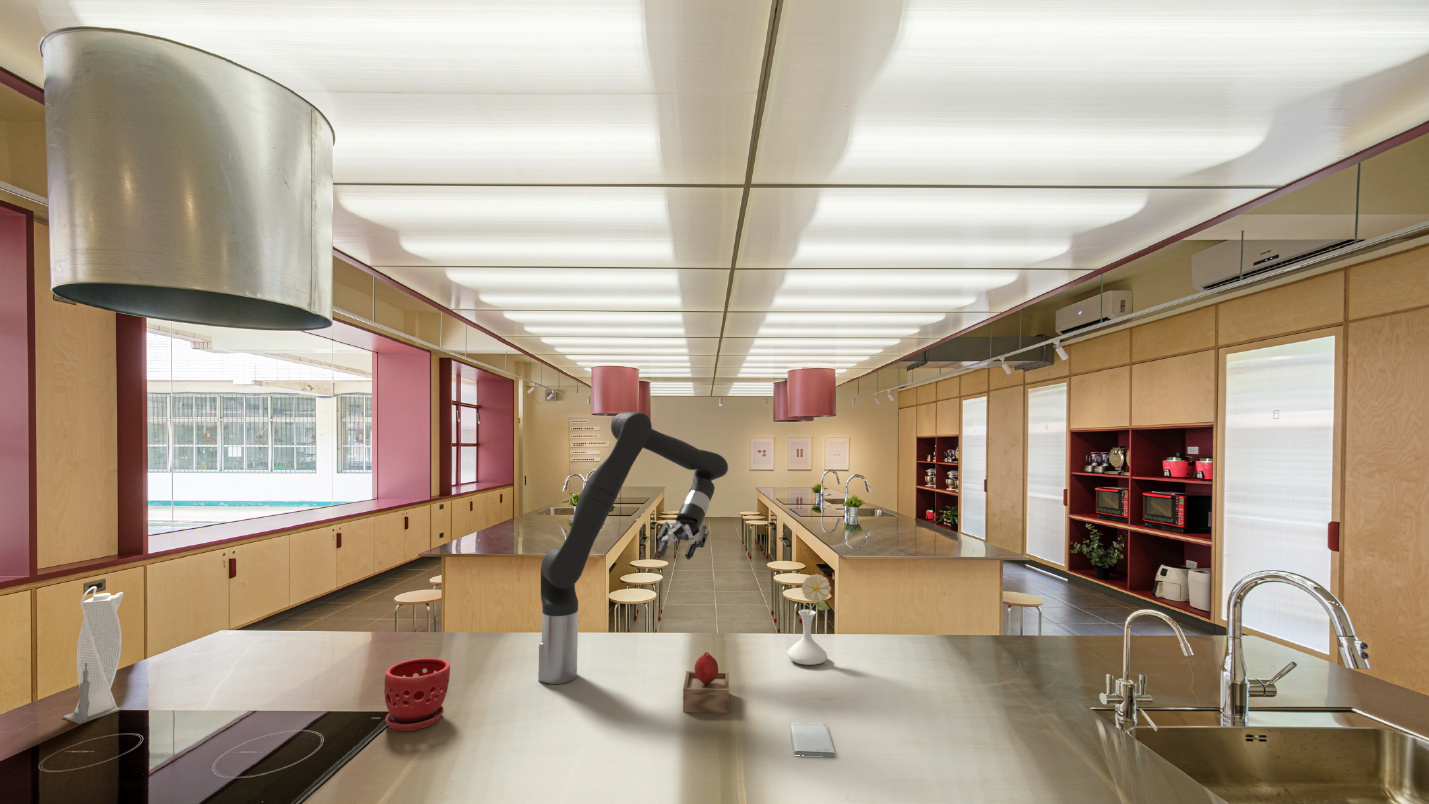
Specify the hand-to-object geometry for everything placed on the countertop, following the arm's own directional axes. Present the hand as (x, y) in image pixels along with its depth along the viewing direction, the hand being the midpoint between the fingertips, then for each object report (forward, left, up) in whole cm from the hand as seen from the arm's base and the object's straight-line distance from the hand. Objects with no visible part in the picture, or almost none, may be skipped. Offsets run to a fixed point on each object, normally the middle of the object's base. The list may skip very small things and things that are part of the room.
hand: (673, 556), depth 166 cm
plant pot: (-54, -32, -31) cm, 70 cm away
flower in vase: (+39, +7, -31) cm, 50 cm away
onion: (+10, -19, -27) cm, 35 cm away
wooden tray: (+10, -20, -31) cm, 38 cm away
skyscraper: (-129, -31, -31) cm, 137 cm away
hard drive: (+33, -37, -31) cm, 59 cm away
